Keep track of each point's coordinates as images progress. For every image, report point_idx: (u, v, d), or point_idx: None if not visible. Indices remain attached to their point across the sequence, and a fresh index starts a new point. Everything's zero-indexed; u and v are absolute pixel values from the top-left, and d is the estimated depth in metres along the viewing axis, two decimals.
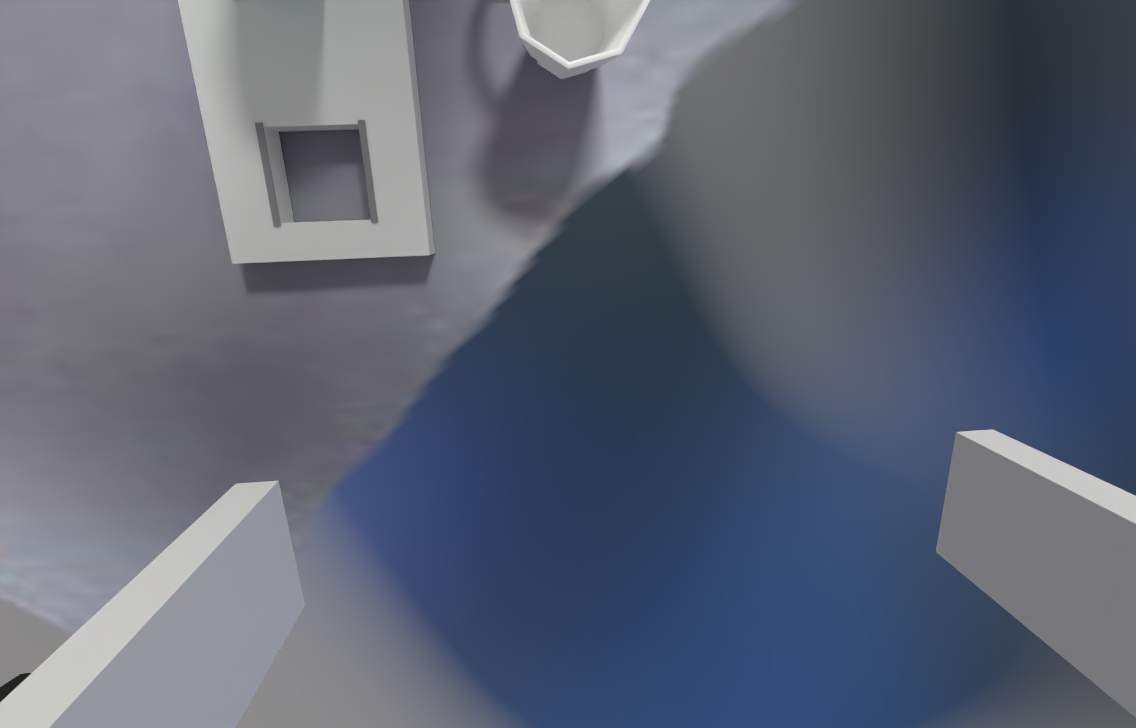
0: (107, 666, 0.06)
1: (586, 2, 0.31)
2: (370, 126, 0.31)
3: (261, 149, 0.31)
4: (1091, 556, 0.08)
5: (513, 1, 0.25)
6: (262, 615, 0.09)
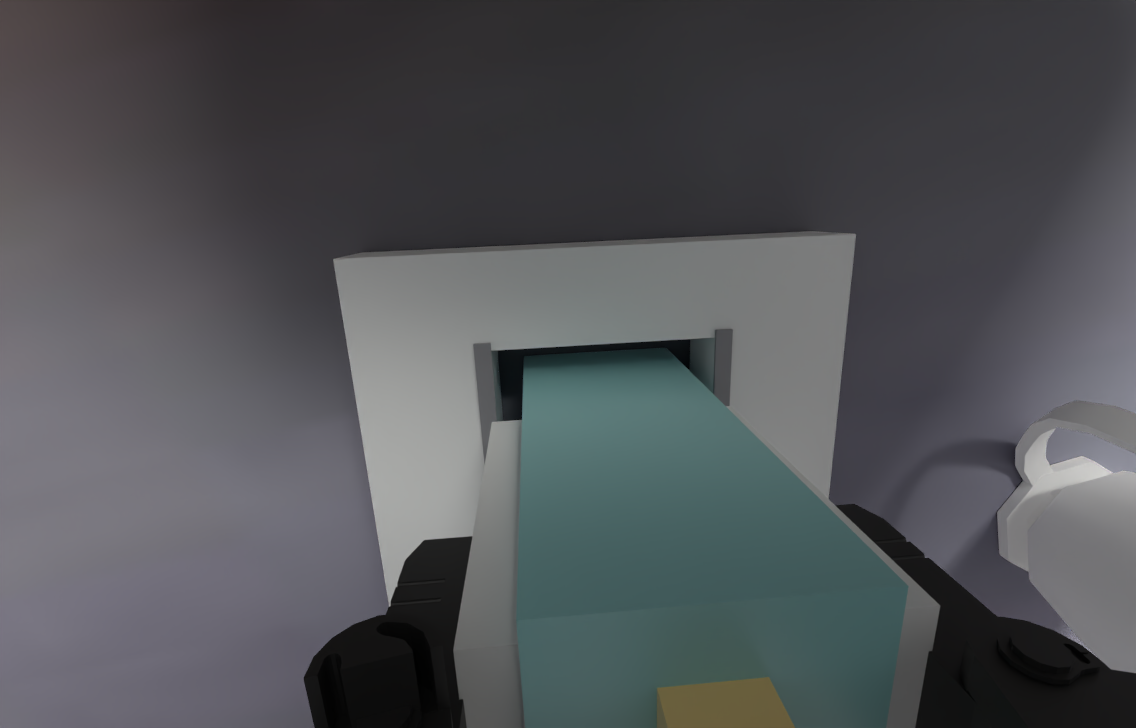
0: None
1: None
2: None
3: None
4: None
5: None
6: None
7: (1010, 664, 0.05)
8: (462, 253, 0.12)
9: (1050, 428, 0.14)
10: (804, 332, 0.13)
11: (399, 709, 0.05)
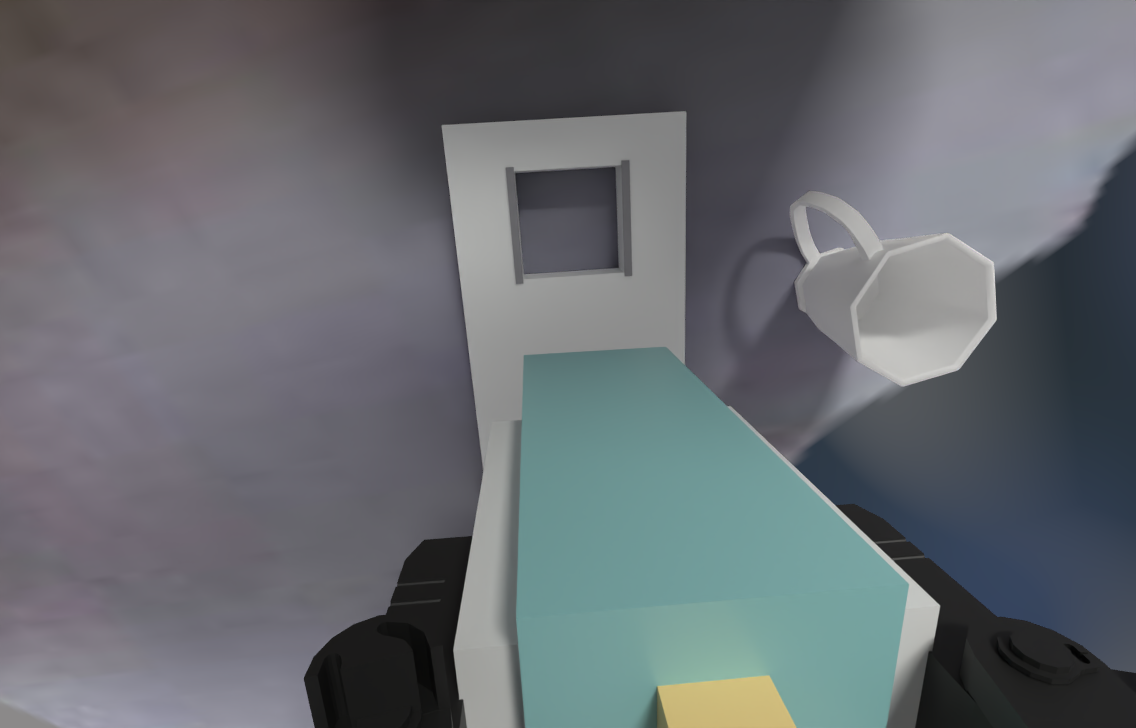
0: None
1: None
2: None
3: None
4: None
5: (857, 331, 0.24)
6: None
7: (1010, 664, 0.05)
8: (500, 122, 0.26)
9: (793, 212, 0.28)
10: (665, 162, 0.27)
11: (399, 709, 0.05)
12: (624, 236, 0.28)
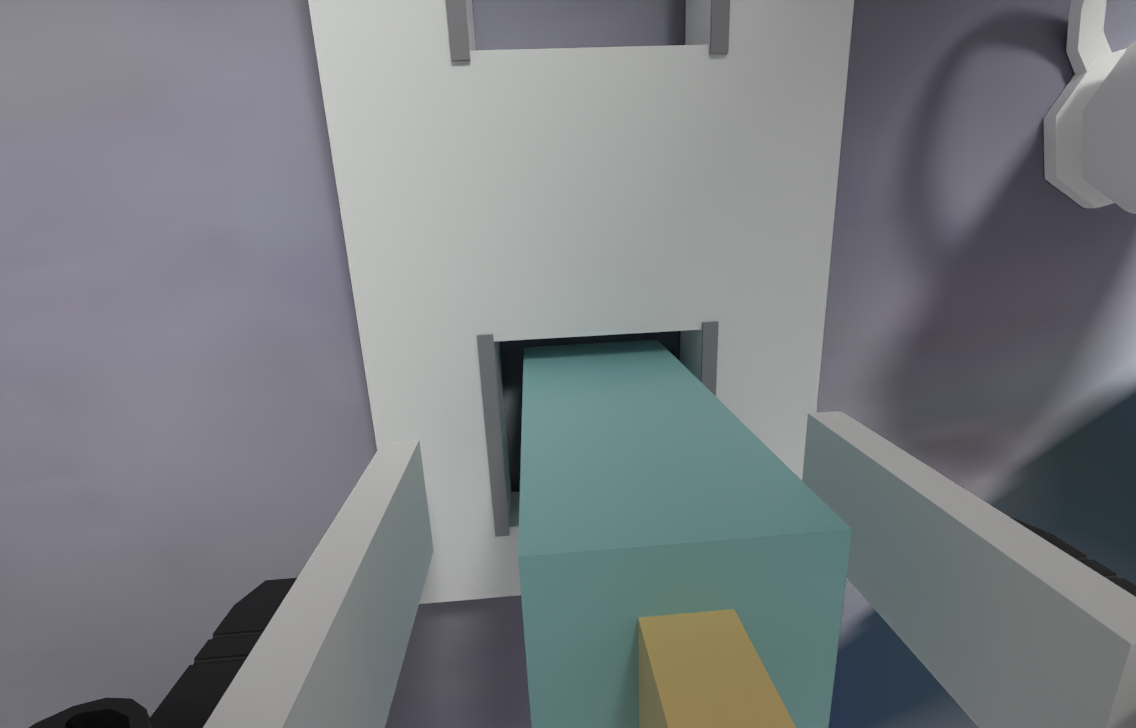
0: (359, 564, 0.07)
1: None
2: (727, 333, 0.14)
3: (485, 389, 0.14)
4: (885, 515, 0.09)
5: None
6: (416, 551, 0.10)
7: None
8: None
9: None
10: None
11: None
12: None
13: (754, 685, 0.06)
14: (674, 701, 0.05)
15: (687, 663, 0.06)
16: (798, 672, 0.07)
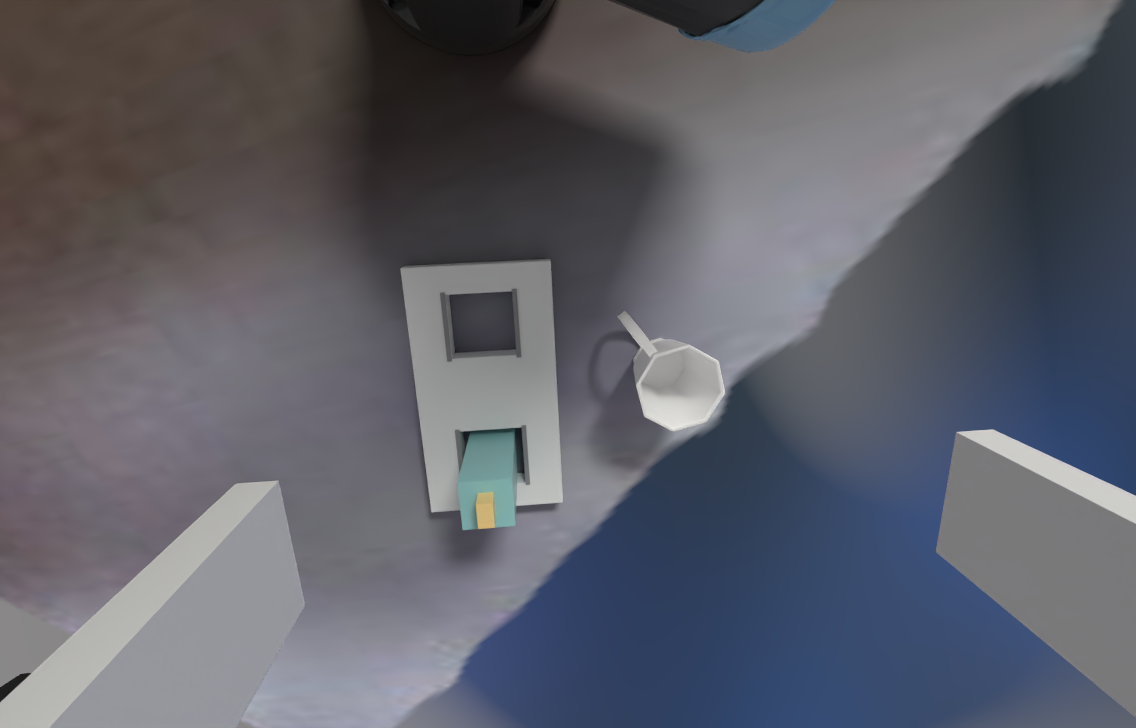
0: (107, 666, 0.06)
1: None
2: (529, 428, 0.47)
3: (457, 445, 0.47)
4: (1091, 555, 0.08)
5: (641, 399, 0.41)
6: (262, 615, 0.09)
7: None
8: (436, 266, 0.43)
9: (620, 320, 0.45)
10: (539, 289, 0.44)
11: None
12: (515, 333, 0.45)
13: (490, 499, 0.39)
14: (478, 501, 0.38)
15: (482, 497, 0.39)
16: (507, 504, 0.40)
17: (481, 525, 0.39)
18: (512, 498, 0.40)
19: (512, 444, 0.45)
